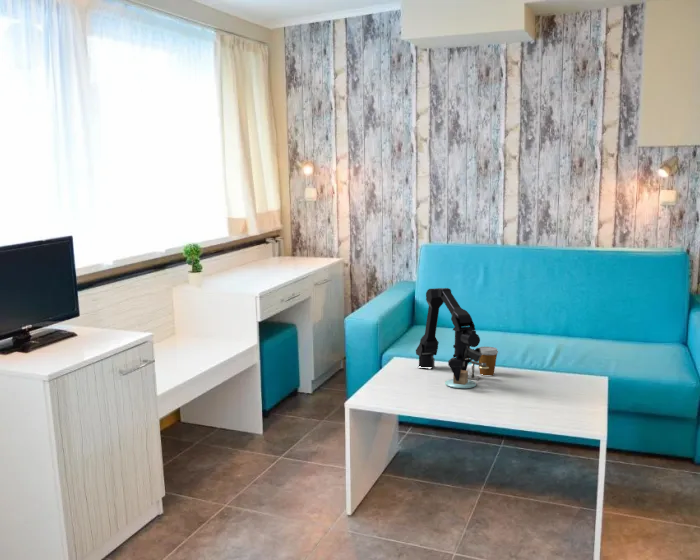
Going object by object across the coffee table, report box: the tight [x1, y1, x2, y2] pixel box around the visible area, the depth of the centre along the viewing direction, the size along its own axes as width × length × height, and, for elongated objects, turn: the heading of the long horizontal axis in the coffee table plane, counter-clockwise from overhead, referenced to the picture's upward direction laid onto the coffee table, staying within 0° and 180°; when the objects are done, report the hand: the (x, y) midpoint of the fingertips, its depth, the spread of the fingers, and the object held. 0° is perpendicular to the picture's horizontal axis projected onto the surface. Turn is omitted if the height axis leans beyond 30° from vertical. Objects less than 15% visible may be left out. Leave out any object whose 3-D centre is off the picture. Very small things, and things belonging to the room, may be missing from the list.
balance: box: [468, 360, 489, 381], centre depth 298 cm, size 14×5×9 cm, turn 65°
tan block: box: [452, 369, 469, 385], centre depth 287 cm, size 5×5×5 cm
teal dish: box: [445, 378, 477, 389], centre depth 288 cm, size 13×13×1 cm
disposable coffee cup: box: [478, 346, 499, 376], centre depth 305 cm, size 10×10×12 cm
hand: (460, 378), depth 287 cm, fingers open, 9 cm apart
